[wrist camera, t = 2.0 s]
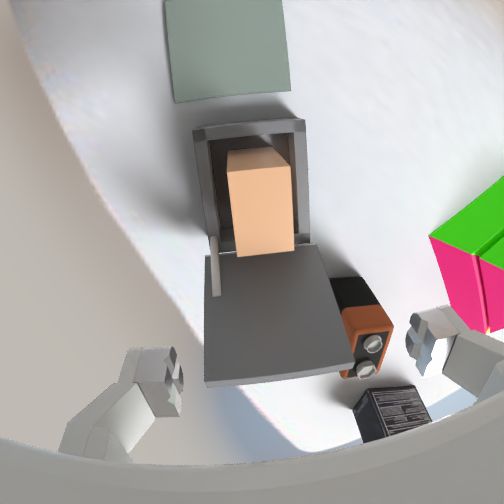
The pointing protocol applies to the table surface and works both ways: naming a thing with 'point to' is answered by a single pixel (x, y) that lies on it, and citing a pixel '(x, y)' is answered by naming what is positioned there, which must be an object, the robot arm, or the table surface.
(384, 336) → the battery
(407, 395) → the small box
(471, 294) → the pyramid toy
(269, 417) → the table surface
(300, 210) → the equipment case
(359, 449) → the robot arm
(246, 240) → the block
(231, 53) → the rubber mat
